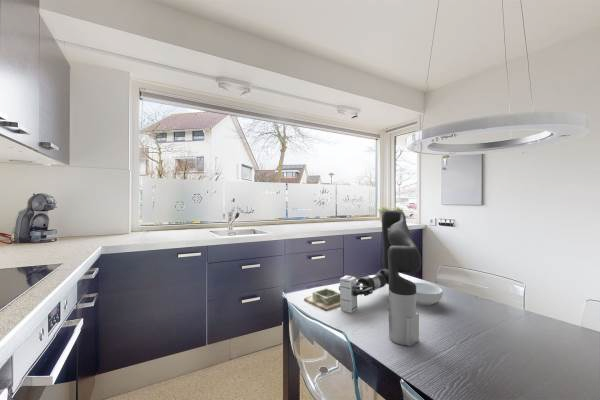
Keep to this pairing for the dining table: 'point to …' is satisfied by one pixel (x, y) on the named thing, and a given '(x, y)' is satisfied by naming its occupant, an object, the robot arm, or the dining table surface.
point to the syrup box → (348, 293)
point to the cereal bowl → (427, 294)
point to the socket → (325, 299)
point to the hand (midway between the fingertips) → (346, 291)
